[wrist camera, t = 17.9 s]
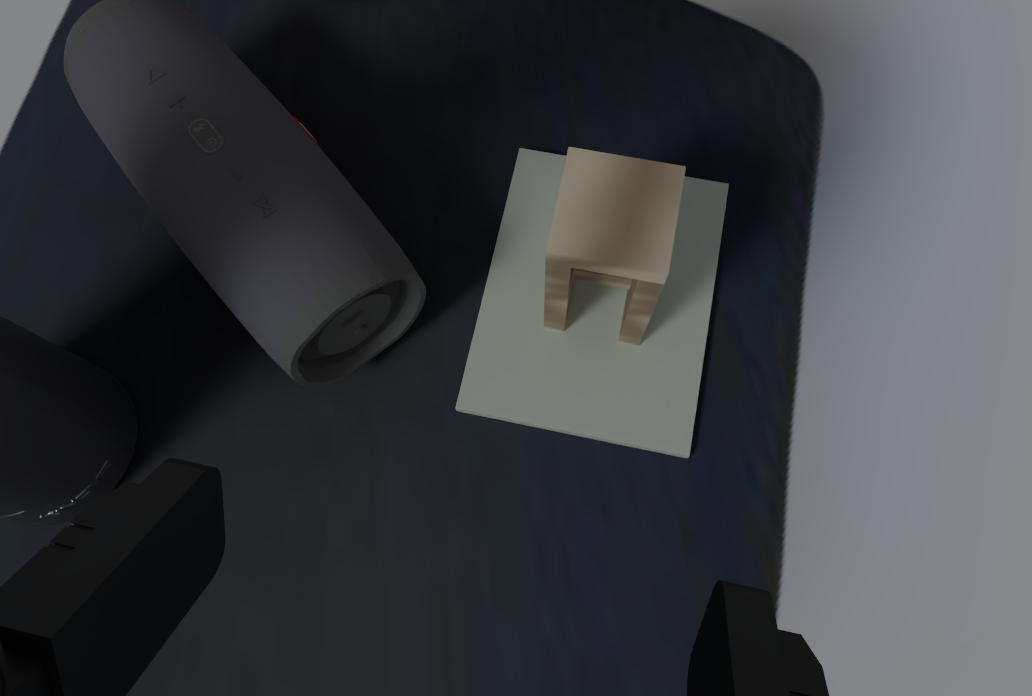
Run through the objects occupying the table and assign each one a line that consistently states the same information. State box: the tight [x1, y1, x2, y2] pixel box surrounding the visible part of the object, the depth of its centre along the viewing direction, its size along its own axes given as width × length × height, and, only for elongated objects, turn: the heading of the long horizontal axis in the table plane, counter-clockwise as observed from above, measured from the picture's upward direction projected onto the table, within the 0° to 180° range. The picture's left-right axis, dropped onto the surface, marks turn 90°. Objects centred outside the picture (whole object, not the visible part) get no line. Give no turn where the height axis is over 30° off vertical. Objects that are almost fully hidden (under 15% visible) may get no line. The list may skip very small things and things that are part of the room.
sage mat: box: [456, 148, 729, 458], centre depth 44 cm, size 13×17×1 cm
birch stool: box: [544, 147, 686, 346], centre depth 39 cm, size 6×6×10 cm
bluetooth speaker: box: [64, 0, 426, 387], centre depth 41 cm, size 23×9×10 cm, turn 40°
